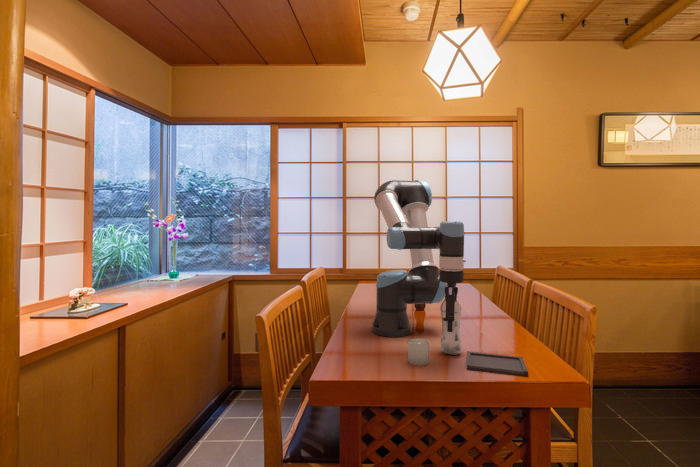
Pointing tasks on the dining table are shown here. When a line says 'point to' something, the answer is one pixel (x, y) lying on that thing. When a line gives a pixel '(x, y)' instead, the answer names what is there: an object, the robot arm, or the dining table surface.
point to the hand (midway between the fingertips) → (451, 335)
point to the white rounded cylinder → (418, 351)
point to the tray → (496, 363)
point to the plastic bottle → (457, 346)
